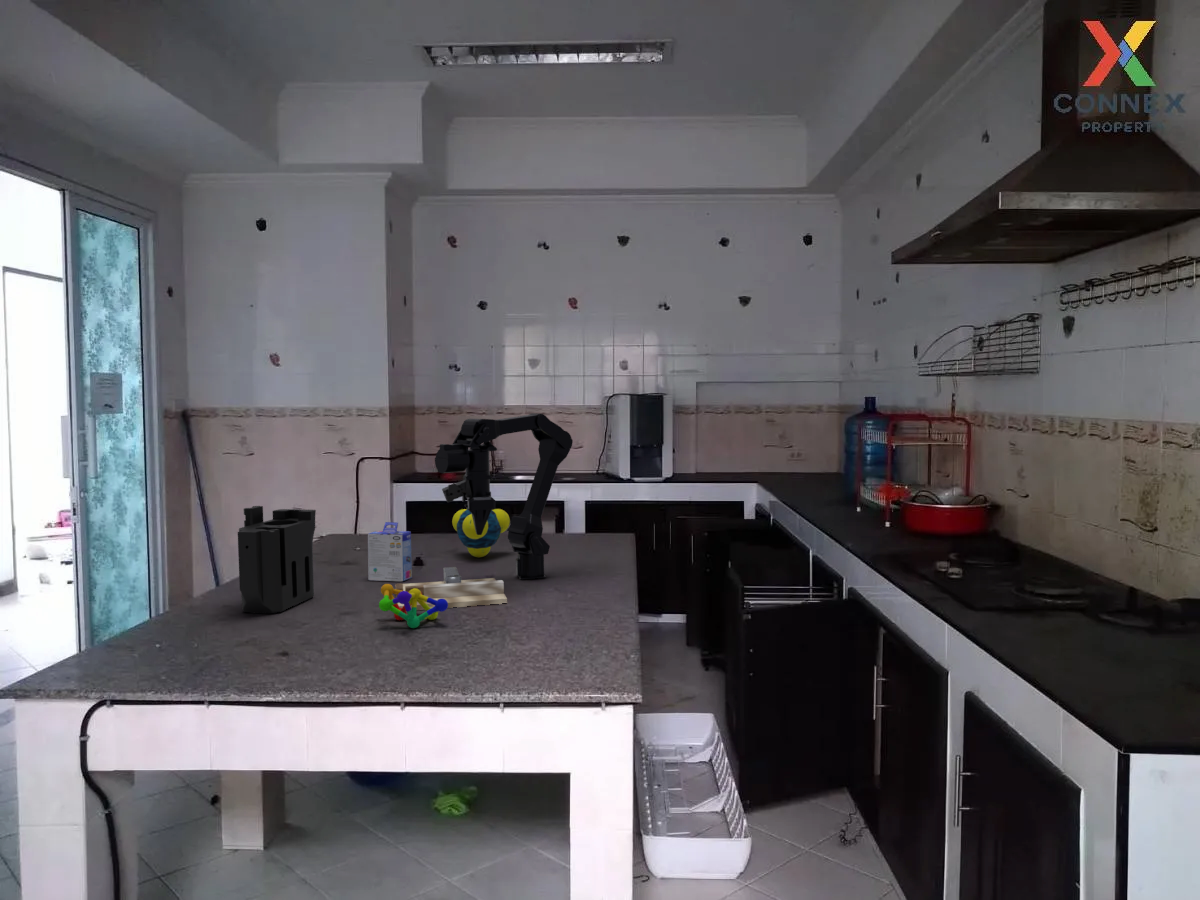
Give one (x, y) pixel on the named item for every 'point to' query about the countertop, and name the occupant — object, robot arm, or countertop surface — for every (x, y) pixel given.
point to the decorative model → (409, 600)
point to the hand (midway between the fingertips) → (478, 534)
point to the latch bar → (451, 575)
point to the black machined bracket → (276, 559)
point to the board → (462, 599)
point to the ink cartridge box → (389, 554)
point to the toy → (489, 536)
